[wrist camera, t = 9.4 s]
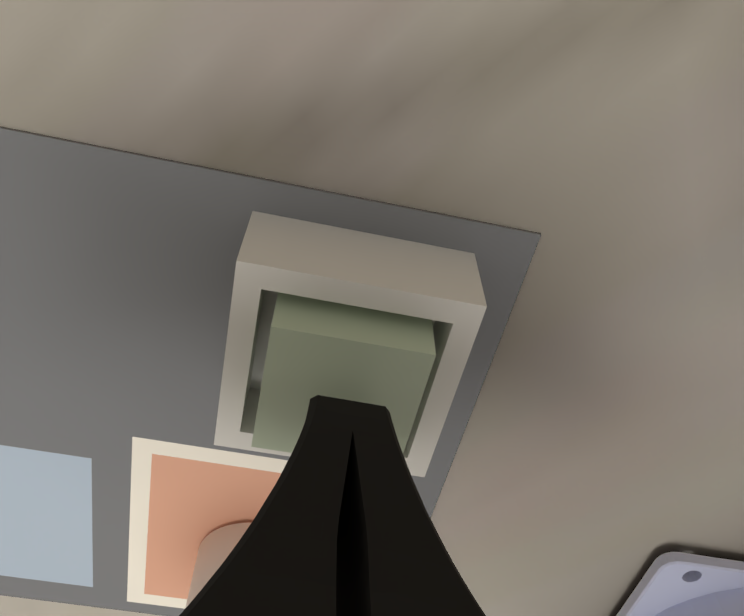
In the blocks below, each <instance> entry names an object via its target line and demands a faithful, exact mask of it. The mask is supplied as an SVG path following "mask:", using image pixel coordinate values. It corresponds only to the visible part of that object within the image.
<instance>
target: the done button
mask: <svg viewBox="0 0 744 616" xmlns="http://www.w3.org/2000/svg"><path fill="white" fill-rule="evenodd" d="M435 357H436V350H435V342H434V333H433V324H432V320H430V319H424V318H419V317H413V316H408V315H402V314H397V313H391V312H385V311H380V310H374V309H369V308H363V307H358V306H352V305H347V304H341V303H335V302H330V301H324V300H319V299H313V298H308V297H302V296H296V295H291V294H285V293H280V292H278V296H277V300H276V305H275V310H274V314H273V319H272V324H271V329H270V335H269V341H268V347H267V353H266V359H265V366H264V372H263V378H262V384H261V390H260V396H259V402H258V408H257V414H256V420H255V427H254V433H253V439H252V445H251V447H257V448H263V449H270V450H276V451H283V452H289V453H292V452H293V450H294V448H295V445H296V443H297V441H298V438H299V436H300V434H301V431H302V429H303V426H304V423H305V420H306V416H307V411H308V406H309V402H310V399H311V398H313V397H315V396H317V395H321V396H327V397H333V398H339V399H345V400H351V401H357V402H363V403H369V404H375V405H381V406H386V408H387V409H388V411H389V412H390V415H391V419H392V422H393V426H394V429H395V432H396V435H397V438H398V441H399V444H400V447H401V450H402V453H404V450H405V447H406V444H407V441H408V438H409V435H410V432H411V429H412V426H413V423H414V420H415V417H416V414H417V411H418V408H419V405H420V402H421V399H422V396H423V393H424V390H425V387H426V384H427V381H428V378H429V375H430V372H431V369H432V366H433V363H434V360H435Z"/></svg>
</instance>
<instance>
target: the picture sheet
mask: <svg viewBox="0 0 744 616" xmlns="http://www.w3.org/2000/svg"><path fill="white" fill-rule="evenodd" d="M252 211H256V212H261V213H267V214H272V215H277V216H282V217H287V218H293V219H298V220H303V221H308V222H314V223H319V224H324V225H329V226H334V227H340V228H345V229H350V230H355V231H360V232H366V233H371V234H376V235H381V236H386V237H392V238H397V239H402V240H407V241H412V242H418V243H423V244H428V245H433V246H439V247H444V248H449V249H454V250H459V251H465V252H470V253H474V254H475V258H476V262H477V266H478V271H479V275H480V279H481V283H482V288H483V292H484V296H485V300H486V305H487V308H486V311H485V313H484V316H483V319H482V322H481V324H480V327H479V330H478V333H477V335H476V338H475V341H474V343H473V346H472V349H471V352H470V354H469V357H468V360H467V363H466V365H465V368H464V371H463V373H462V376H461V379H460V382H459V384H458V387H457V390H456V393H455V395H454V398H453V401H452V403H451V406H450V409H449V412H448V414H447V417H446V420H445V423H444V425H443V428H442V431H441V434H440V436H439V439H438V442H437V444H436V447H435V450H434V453H433V455H432V458H431V461H430V464H429V466H428V469H427V472H426V474H425V477H419V476H413V475H411V476H412V478H413V481H414V483H415V485H416V488H417V490H418V492H419V495H420V497H421V499H422V501H423V504H424V506H425V508H426V510H427V513H428V515H429V517H430V518H431V515H432V513H433V510H434V508H435V505H436V502H437V500H438V497H439V495H440V492H441V490H442V487H443V485H444V482H445V479H446V477H447V474H448V472H449V469H450V467H451V464H452V462H453V459H454V456H455V454H456V451H457V449H458V446H459V444H460V441H461V439H462V436H463V433H464V431H465V428H466V426H467V423H468V421H469V418H470V416H471V413H472V410H473V408H474V405H475V403H476V400H477V398H478V395H479V393H480V390H481V387H482V385H483V382H484V380H485V377H486V375H487V372H488V370H489V367H490V364H491V362H492V359H493V357H494V354H495V352H496V349H497V347H498V344H499V341H500V339H501V336H502V334H503V331H504V329H505V326H506V324H507V321H508V318H509V316H510V313H511V311H512V308H513V306H514V303H515V301H516V298H517V295H518V293H519V290H520V288H521V285H522V283H523V280H524V278H525V275H526V272H527V270H528V267H529V265H530V262H531V260H532V257H533V255H534V252H535V249H536V247H537V244H538V242H539V239H540V237H541V233H537V232H531V231H526V230H521V229H516V228H511V227H506V226H501V225H496V224H491V223H486V222H481V221H476V220H471V219H466V218H461V217H456V216H450V215H445V214H440V213H435V212H430V211H425V210H420V209H415V208H410V207H405V206H400V205H395V204H390V203H385V202H380V201H375V200H369V199H364V198H359V197H354V196H349V195H344V194H339V193H334V192H329V191H324V190H319V189H314V188H309V187H304V186H299V185H294V184H288V183H283V182H278V181H273V180H268V179H263V178H258V177H253V176H248V175H243V174H238V173H233V172H228V171H223V170H218V169H212V168H207V167H202V166H197V165H192V164H187V163H182V162H177V161H172V160H167V159H162V158H157V157H152V156H147V155H142V154H137V153H131V152H126V151H121V150H116V149H111V148H106V147H101V146H96V145H91V144H86V143H81V142H76V141H71V140H66V139H61V138H56V137H50V136H45V135H40V134H35V133H30V132H25V131H20V130H15V129H10V128H5V127H0V595H3V596H11V597H19V598H27V599H35V600H43V601H51V602H59V603H67V604H75V605H83V606H91V607H99V608H107V609H115V610H123V611H131V612H139V613H147V614H155V615H163V616H179V615H180V614H181V613H182V612H183V611H184V610H185V607H186V603H187V598H188V594H189V589H190V585H191V580H192V576H193V571H194V567H195V562H196V558H197V554H198V549H199V546H200V544H201V542H202V541H203V539H204V538H205V537H206V536H207V535H209V534H210V533H211V532H213V531H214V530H217V529H219V528H221V527H224V526H227V525H231V524H236V523H248V522H250V523H252V521H253V520H254V518H255V517H256V515H257V514H258V512H259V510H260V509H261V507H262V505H263V504H264V502H265V501H266V499H267V497H268V496H269V494H270V492H271V491H272V489H273V488H274V486H275V484H276V482H277V481H278V479H279V477H280V475H281V473H282V471H283V469H284V467H285V465H286V463H287V461H288V459H289V458H290V457H289V456H282V455H276V454H269V453H263V452H256V451H250V450H243V449H237V448H230V447H224V446H217V445H214V439H215V430H216V422H217V414H218V406H219V398H220V390H221V381H222V373H223V365H224V357H225V349H226V341H227V333H228V324H229V316H230V308H231V300H232V292H233V284H234V276H235V267H236V260H237V257H238V254H239V251H240V248H241V245H242V242H243V239H244V236H245V233H246V230H247V226H248V223H249V220H250V217H251V214H252Z"/></svg>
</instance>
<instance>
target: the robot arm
mask: <svg viewBox="0 0 744 616" xmlns="http://www.w3.org/2000/svg"><path fill="white" fill-rule="evenodd" d="M179 616H486V615H485V614H484V612H483V611H482V609H481V608H480V606H479V605H478V603H477V602H476V600H475V599H474V597H473V595H472V594H471V592H470V590H469V589H468V587H467V585H466V584H465V582H464V581H463V579H462V577H461V576H460V574H459V572H458V570H457V569H456V567H455V565H454V563H453V562H452V560H451V558H450V556H449V554H448V552H447V551H446V549H445V547H444V545H443V543H442V541H441V539H440V537H439V535H438V533H437V531H436V529H435V527H434V525H433V523H432V521H431V519H430V517H429V515H428V513H427V510H426V508H425V506H424V504H423V501H422V499H421V497H420V495H419V492H418V490H417V488H416V485H415V483H414V481H413V478H412V476H411V473H410V471H409V468H408V466H407V463H406V461H405V458H404V455H403V453H402V450H401V447H400V444H399V441H398V438H397V435H396V432H395V429H394V426H393V422H392V419H391V415H390V412H389V411H388V409H387V408H386V406H381V405H375V404H369V403H363V402H357V401H351V400H345V399H339V398H333V397H327V396H321V395H317V396H315V397H313V398H311V399H310V402H309V406H308V411H307V416H306V420H305V423H304V426H303V429H302V431H301V434H300V436H299V438H298V441H297V443H296V445H295V448H294V450H293V452H292V454H291V456H290V458H289V459H288V461H287V463H286V465H285V467H284V469H283V471H282V473H281V475H280V477H279V479H278V481H277V482H276V484H275V486H274V488H273V489H272V491H271V492H270V494H269V496H268V497H267V499H266V501H265V502H264V504H263V505H262V507H261V509H260V510H259V512H258V514H257V515H256V517H255V518H254V520H253V521H252V523H251V524H250V526H249V527H248V529H247V530H246V532H245V533H244V535H243V536H242V537H241V539H240V540H239V542H238V543H237V544H236V546H235V547H234V549H233V550H232V551H231V553H230V554H229V555H228V557H227V558H226V559H225V561H224V562H223V563H222V565H221V566H220V567H219V568H218V570H217V571H216V572H215V573H214V575H213V576H212V577H211V578H210V580H209V581H208V582H207V583H206V585H205V586H204V587H203V588H202V590H201V591H200V592H199V593H198V594H197V596H196V597H195V598H194V599H193V600H192V601H191V603H190V604H189V605H188V606H187V607H186V608H185V610H184V611H183V612H182V613H181V614H180V615H179ZM616 616H744V562H743V561H737V560H730V559H723V558H716V557H709V556H703V555H696V554H689V553H682V552H667V553H664V554H662V555H660V556H658V557H657V558H656V559H655V560H654V562H653V563H652V565H651V566H650V568H649V569H648V570H647V572H646V573H645V575H644V576H643V578H642V579H641V581H640V582H639V583H638V585H637V586H636V588H635V589H634V591H633V592H632V594H631V595H630V596H629V598H628V599H627V601H626V602H625V604H624V605H623V607H622V608H621V609H620V611H619V612H618V614H617V615H616Z"/></svg>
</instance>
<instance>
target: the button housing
mask: <svg viewBox="0 0 744 616" xmlns="http://www.w3.org/2000/svg"><path fill="white" fill-rule="evenodd" d="M278 292H280V293H285V294H291V295H296V296H302V297H308V298H313V299H319V300H324V301H330V302H335V303H341V304H347V305H352V306H358V307H363V308H369V309H374V310H380V311H385V312H391V313H397V314H402V315H408V316H413V317H419V318H424V319H430V320H432V324H433V333H434V342H435V350H436V357H435V360H434V363H433V366H432V369H431V372H430V375H429V378H428V381H427V384H426V387H425V390H424V393H423V396H422V399H421V402H420V405H419V408H418V411H417V414H416V417H415V420H414V423H413V426H412V429H411V432H410V435H409V438H408V441H407V444H406V447H405V450H404V453H403V455H404V458H405V461H406V463H407V466H408V468H409V471H410V473H411V475H413V476H419V477H425V474H426V472H427V469H428V466H429V464H430V461H431V458H432V455H433V453H434V450H435V447H436V444H437V442H438V439H439V436H440V434H441V431H442V428H443V425H444V423H445V420H446V417H447V414H448V412H449V409H450V406H451V403H452V401H453V398H454V395H455V393H456V390H457V387H458V384H459V382H460V379H461V376H462V373H463V371H464V368H465V365H466V363H467V360H468V357H469V354H470V352H471V349H472V346H473V343H474V341H475V338H476V335H477V333H478V330H479V327H480V324H481V322H482V319H483V316H484V313H485V311H486V308H487V305H486V300H485V296H484V292H483V288H482V283H481V279H480V275H479V271H478V266H477V262H476V258H475V254H474V253H470V252H465V251H459V250H454V249H449V248H444V247H439V246H433V245H428V244H423V243H418V242H412V241H407V240H402V239H397V238H392V237H386V236H381V235H376V234H371V233H366V232H360V231H355V230H350V229H345V228H340V227H334V226H329V225H324V224H319V223H314V222H308V221H303V220H298V219H293V218H287V217H282V216H277V215H272V214H267V213H261V212H256V211H252V214H251V217H250V220H249V223H248V226H247V230H246V233H245V236H244V239H243V242H242V245H241V248H240V251H239V254H238V257H237V260H236V267H235V276H234V284H233V292H232V300H231V308H230V316H229V324H228V333H227V341H226V349H225V357H224V365H223V373H222V381H221V390H220V398H219V406H218V414H217V422H216V430H215V439H214V445H217V446H224V447H230V448H237V449H243V450H250V451H256V452H263V453H269V454H276V455H282V456H289V457H290V456H291V454H292V453H289V452H283V451H276V450H270V449H263V448H257V447H251V445H252V439H253V433H254V427H255V420H256V414H257V408H258V402H259V396H260V390H261V384H262V378H263V372H264V366H265V359H266V353H267V347H268V341H269V335H270V329H271V324H272V319H273V314H274V310H275V305H276V300H277V296H278Z"/></svg>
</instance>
